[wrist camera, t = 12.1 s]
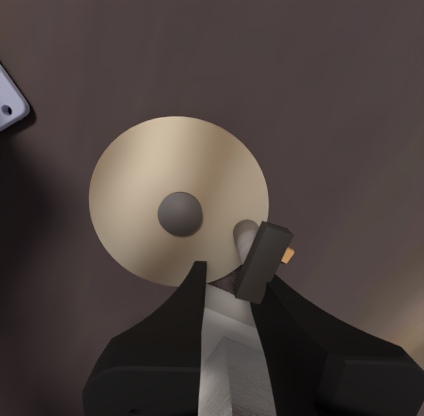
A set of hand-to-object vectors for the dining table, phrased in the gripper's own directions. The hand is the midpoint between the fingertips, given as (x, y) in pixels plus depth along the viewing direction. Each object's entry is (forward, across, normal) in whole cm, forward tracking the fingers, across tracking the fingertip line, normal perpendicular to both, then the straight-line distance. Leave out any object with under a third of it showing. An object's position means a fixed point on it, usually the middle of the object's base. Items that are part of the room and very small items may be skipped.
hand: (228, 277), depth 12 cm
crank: (+3, +3, -3) cm, 5 cm away
